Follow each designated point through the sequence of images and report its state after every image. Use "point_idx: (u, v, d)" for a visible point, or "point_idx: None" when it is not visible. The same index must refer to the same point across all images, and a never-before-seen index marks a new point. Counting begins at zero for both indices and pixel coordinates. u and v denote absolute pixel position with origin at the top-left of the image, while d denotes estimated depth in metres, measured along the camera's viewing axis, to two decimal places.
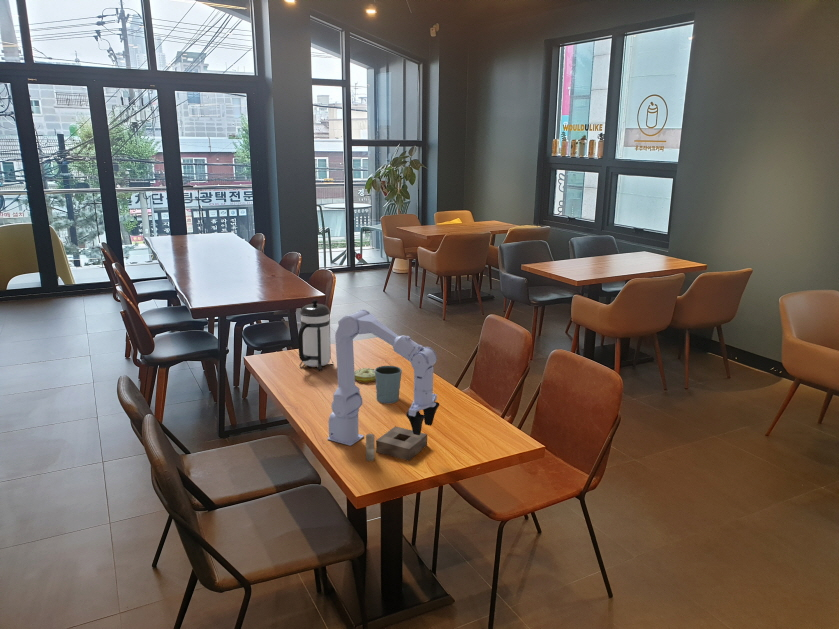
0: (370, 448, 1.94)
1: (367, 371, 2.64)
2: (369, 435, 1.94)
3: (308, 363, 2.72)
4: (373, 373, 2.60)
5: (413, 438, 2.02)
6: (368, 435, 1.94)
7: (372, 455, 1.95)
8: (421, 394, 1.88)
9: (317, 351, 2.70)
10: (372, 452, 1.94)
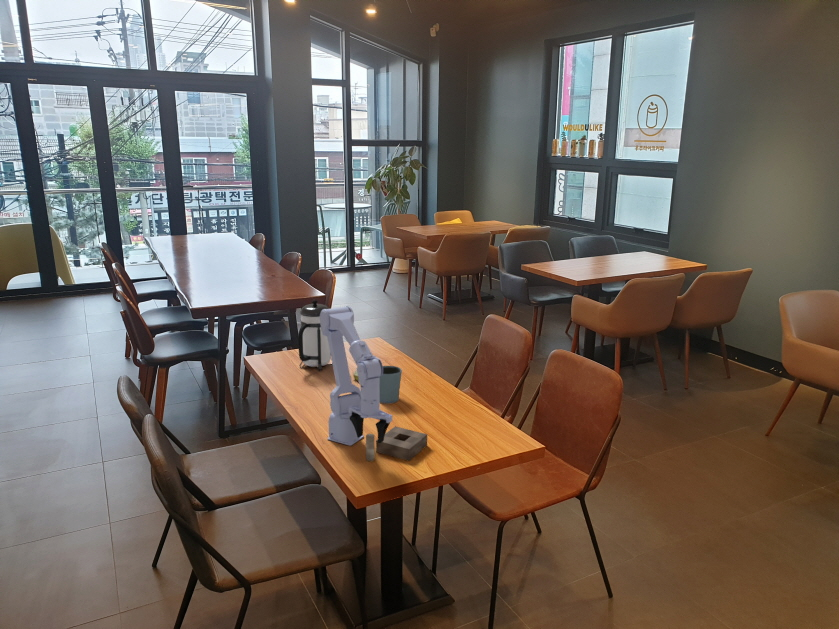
0: (370, 448, 1.94)
1: None
2: (369, 435, 1.94)
3: (308, 363, 2.72)
4: None
5: (413, 438, 2.02)
6: (368, 435, 1.94)
7: (372, 455, 1.95)
8: None
9: (317, 351, 2.70)
10: (372, 452, 1.94)
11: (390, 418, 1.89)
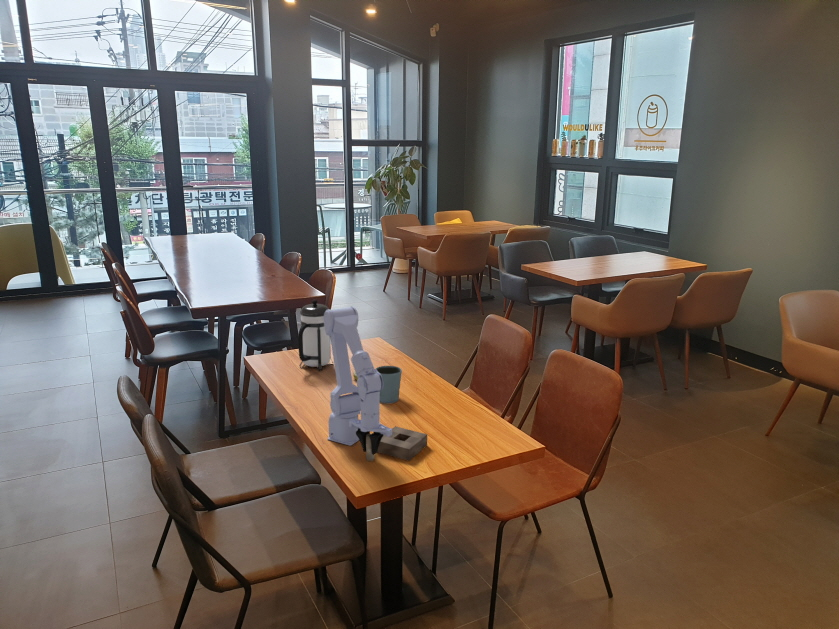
0: (370, 448, 1.94)
1: None
2: None
3: (308, 363, 2.72)
4: None
5: (413, 438, 2.02)
6: (368, 435, 1.94)
7: (372, 455, 1.95)
8: None
9: (317, 351, 2.70)
10: None
11: (390, 432, 1.90)
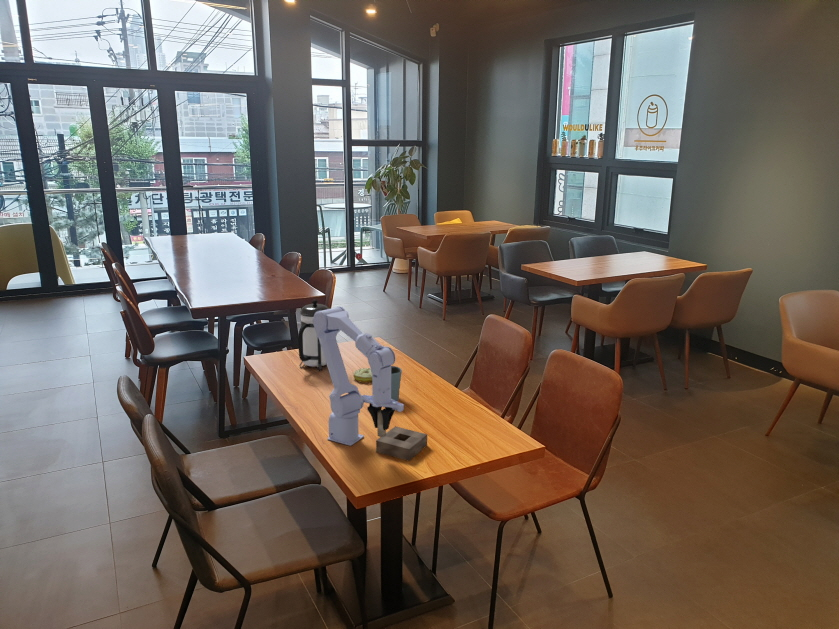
0: (381, 424, 1.94)
1: (367, 371, 2.64)
2: (380, 411, 1.95)
3: (308, 363, 2.72)
4: None
5: (413, 438, 2.02)
6: (379, 411, 1.95)
7: (384, 431, 1.95)
8: None
9: (317, 351, 2.70)
10: None
11: (401, 407, 1.90)
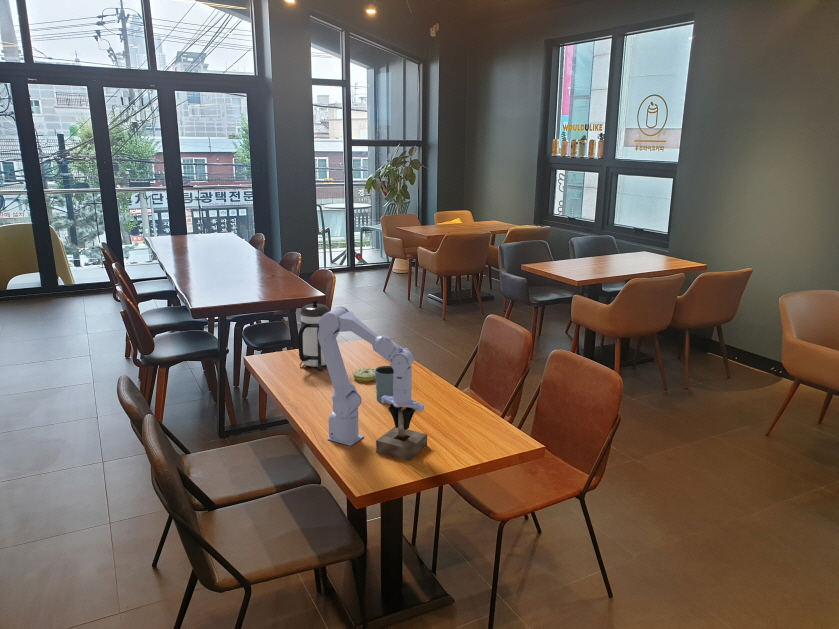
0: (402, 423, 1.99)
1: (367, 371, 2.64)
2: (401, 411, 2.00)
3: (308, 363, 2.72)
4: (373, 373, 2.60)
5: (413, 438, 2.02)
6: (400, 411, 2.00)
7: (404, 430, 2.00)
8: None
9: (317, 351, 2.70)
10: None
11: (422, 407, 1.96)
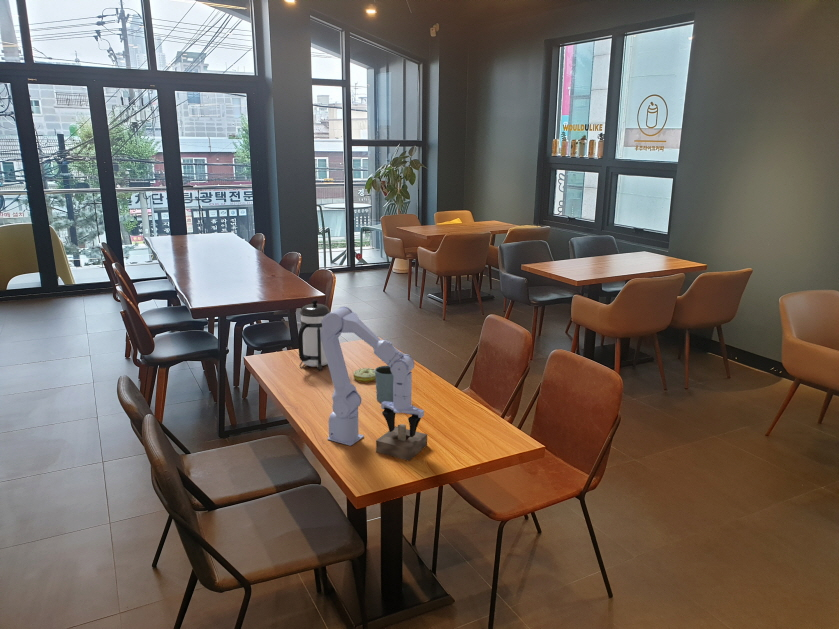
0: (401, 438, 2.01)
1: (367, 371, 2.64)
2: (401, 425, 2.01)
3: (308, 363, 2.72)
4: (373, 373, 2.60)
5: (413, 438, 2.02)
6: (400, 425, 2.01)
7: None
8: None
9: (317, 351, 2.70)
10: None
11: (422, 413, 1.96)
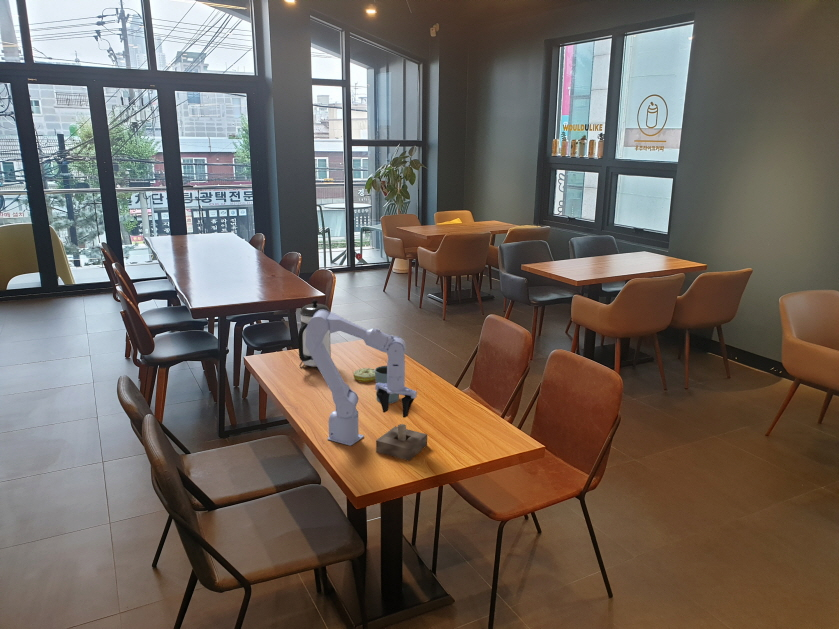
0: (401, 438, 2.01)
1: (367, 371, 2.64)
2: (401, 425, 2.01)
3: (308, 363, 2.72)
4: (373, 373, 2.60)
5: (413, 438, 2.02)
6: (400, 425, 2.01)
7: None
8: None
9: None
10: None
11: (415, 394, 2.01)
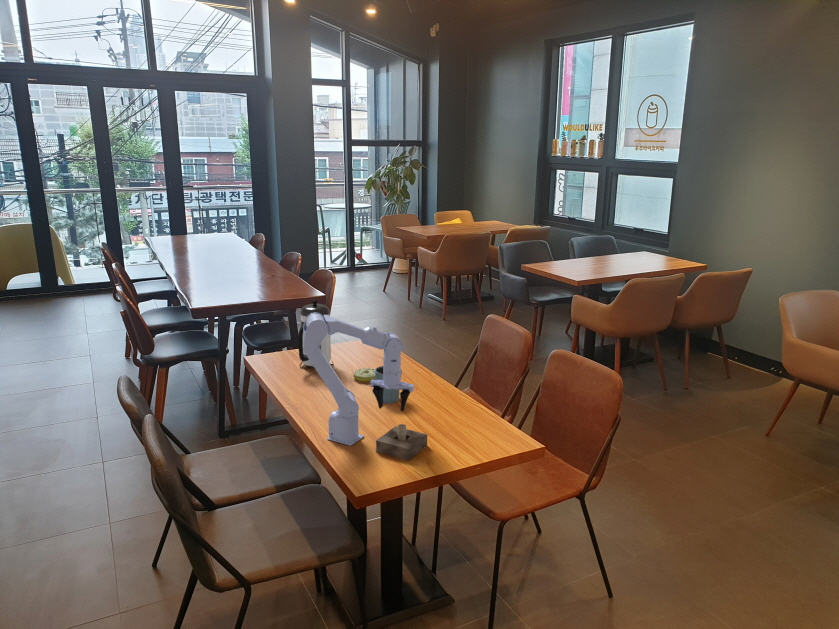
0: (401, 438, 2.01)
1: (367, 371, 2.64)
2: (401, 425, 2.01)
3: (308, 363, 2.72)
4: (373, 373, 2.60)
5: (413, 438, 2.02)
6: (400, 425, 2.01)
7: None
8: (383, 373, 2.07)
9: None
10: None
11: (412, 387, 2.06)
